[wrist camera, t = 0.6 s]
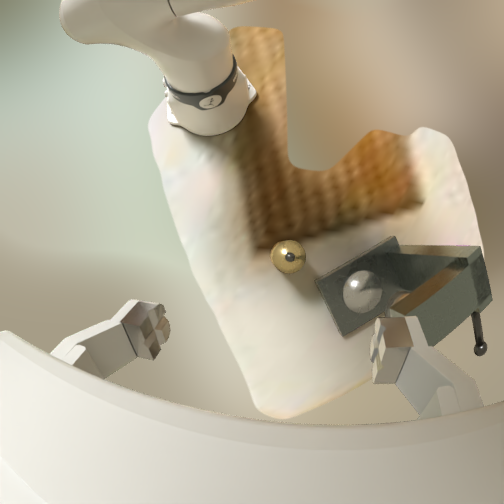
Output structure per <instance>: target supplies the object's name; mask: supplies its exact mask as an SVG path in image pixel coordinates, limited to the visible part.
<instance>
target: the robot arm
mask: <svg viewBox="0 0 504 504" xmlns="http://www.w3.org/2000/svg"><path fill="white" fill-rule="evenodd" d="M250 1H254V0H62V1H61V4H60V11H59V18H60V22H61V25H62V27H63V29H64V31H65V32H66V34H67V35H68V36H70V37H71V38H72V39H74V40H75V41H77V42H80V43H83V44H100V43H101V44H115V45H120V46H125V47H128V48H131V49H134V50H136V51H139V52H141V53H143V54H145V55H147V56H148V57H150V58H151V59H152V60H153V61H154V62H155V63H156V64H157V66H158V67H159V69H160V70H161V72H162V73H163V75H164V78H163V85H164V87H165V88H167V90H166V91H165V96H166V97H167V119H168V122H169V123H170V124H172V125H178V126H182V127H184V128H186V129H187V130H188V131H190V132H192V133H195V134H198V135H203V136H212V135H218V134H221V133H224V132H226V131H228V130H230V129H232V128H233V127H235V126H236V125H237V124H238V123H239V122H240V121H241V120H242V118H243V117H244V115H245V113H246V110H247V107H248V105H249V103H251V102H252V101H253V100H254V98H255V97H256V95H257V93H256V90H255V88H254V87H253V86H252V84H251V83H250V82H249V80H248V79H247V78H246V75H244V74H243V72H242V71H241V70H240V68H239V67H238V66H237V62H236V60H235V57H234V55H233V54H232V49H231V42H230V35H229V32H228V30H227V28H226V27H225V26H224V24H222V23H221V22H220V21H219V20H217V19H216V18H214V17H213V16H211V15H208V14H204V13H199V12H201V11H205V10H211V9H216V8H222V7H228V6H235V5H239V4H243V3H246V2H250ZM248 89H249V90H248ZM172 113H173V115H172ZM165 313H166V311H165V308H164V306H163V305H162V304H160V303H154V302H148V301H141V300H134V299H132V300H129V301H128V302H127V303H126V304H125V305H124V306H123V307H122V308H121V309H120V310H119V311H118V312H117V313H116V314H115V316H114V317H113V318H112V319H111V320H106V321H103V322H101V323H99V324H96V325H94V326H92V327H90V328H87V329H85V330H83V331H80V332H78V333H76V334H73V335H71V336H69V337H66V338H64V340H63V341H62V342H61V343H60V344H59V345H58V346H57V347H56V348H55V349H54V350H53V351H52V352H51V353H50V354H48V353H46V352H44V351H43V350H41V349H39V348H37V347H35V346H34V345H32V344H30V343H28V342H27V341H25V340H23V339H22V338H20V337H18V336H17V335H15V334H14V333H12V332H10V331H7V330H6V331H1V332H0V504H504V401H501V402H498V403H494V404H491V405H487V406H484V405H483V402H482V399H481V397H480V393H479V390H478V387H477V385H476V382H475V380H474V379H473V378H472V377H470V376H469V375H468V374H466V373H465V372H464V371H463V370H461V369H460V368H459V367H458V366H456V365H455V364H454V363H453V362H452V361H450V360H449V359H448V358H447V357H445V356H444V355H443V354H441V353H440V352H439V351H438V350H436V349H435V348H434V347H433V346H428V344H427V341H426V338H425V336H424V333H423V330H422V328H421V325H420V323H419V320H418V318H417V317H416V316H405V317H378V318H377V319H376V322H375V332H376V333H375V334H374V335H372V339H371V344H370V360H371V361H372V362H373V363H374V364H373V367H372V376H373V384H393V383H396V384H395V385H396V386H397V387H398V388H399V390H400V391H401V392H402V393H403V395H404V396H405V397H406V398H407V400H408V401H409V402H410V403H411V405H412V406H413V407H414V409H415V410H416V411H417V412H418V414H419V415H420V416H419V418H418V419H417V420H413V421H404V422H395V423H381V424H362V425H321V424H319V425H318V424H301V423H287V422H277V421H267V420H259V419H252V418H245V417H239V416H232V415H227V414H222V413H217V412H212V411H207V410H202V409H198V408H194V407H190V406H186V405H182V404H178V403H174V402H171V401H167V400H163V399H160V398H157V397H153V396H150V395H147V394H144V393H141V392H138V391H135V390H131V389H129V388H126V387H123V386H121V385H118V384H115V383H113V382H110V381H107V380H105V378H107V377H108V376H110V375H111V374H113V373H114V372H116V371H118V370H119V369H121V368H122V367H124V366H125V365H127V364H128V363H130V362H131V361H133V360H134V359H136V358H137V357H141V358H145V359H149V360H154V359H155V358H156V356H157V355H158V353H159V352H160V350H161V347H160V345H162V344H164V343H165V342H166V341H167V340H168V338H169V335H170V324H169V321H168V320H167V319H166V318H165V316H164V315H165Z"/></svg>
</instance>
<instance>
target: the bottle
mask: <svg viewBox="0 0 504 504" xmlns="http://www.w3.org/2000/svg"><path fill="white" fill-rule="evenodd" d="M270 258H271V261H272V263H273V264H274V265H275V266H276V268H277V269H278V270H280V271H281V272H283V273H288V274H290V273H295V272H297V271H299V270H300V269H301V268H302V267H303V265H304V263H305V260H306V254H305V250H304V248H303V247H302V246H301V245H300V244H299V243H298V242H296V241H293V240H286V241H280V242H278V243H276V244H275V245H274V246H273V247H272V249H271V251H270Z"/></svg>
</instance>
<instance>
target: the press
mask: <svg viewBox="0 0 504 504" xmlns="http://www.w3.org/2000/svg"><path fill="white" fill-rule="evenodd" d="M314 281H315V283H316V285H317V287H318V289H319V291H320V293H321V295H322V297H323V299H324V301H325V303H326V305H327V307H328V309H329V311H330V314H331V316H332V318H333V320H334V322H335V324H336V326H337V328H338V331H339V333H340V334H341V335H342V336H344V335H346V334H348V333H350V332H351V331H353V330H355V329H356V328H358V327H360V326H361V325H363V324H365V323H366V322H368V321H370V320H371V319H373V318H374V317H376V316H378V315H379V314H381V313H382V312H384V311H385V317H405V316H416V317H417V318H418V320H419V323H420V325H421V328H422V330H423V333H424V336H425V338H426V341H427V344H428V346H435V345H436V344H437V343H438V342H439V341H441V340H442V339H443V338H444V337H446V336H447V335H448V334H449V333H450V332H452V331H453V330H454V329H455V328H456V327H457V326H459V325H460V324H461V323H462V322H463V321H464V320H465V319H466V318H467V317H469V316H470V315H471V317H472V322H473V328H474V334H475V340H476V345H475V347H474V352H475V354H476V355H477V356H482V355H484V354H485V353H486V351H487V344H486V343H485V342H484V340H483V332H482V326H481V319H480V313H481V312H482V311H483V310H484V309H485V308H486V306H487V305H489V303H490V302H491V301H492V294H491V289H490V284H489V279H488V275H487V270H486V266H485V262H484V258H483V255H482V251H481V247H480V246H425V245H399V244H398V242H397V239H396V237H395V236H390V237H389V238H387V239H385V240H384V241H382V242H380V243H379V244H377V245H376V246H374V247H372V248H370V249H369V250H367V251H365V252H364V253H362V254H360V255H359V256H357V257H355V258H353V259H352V260H350V261H348V262H347V263H345V264H343V265H341V266H340V267H338V268H336V269H334V270H333V271H331V272H329V273H327V274H325V275H324V276H322V277H320V278H318V279H316V280H314Z"/></svg>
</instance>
